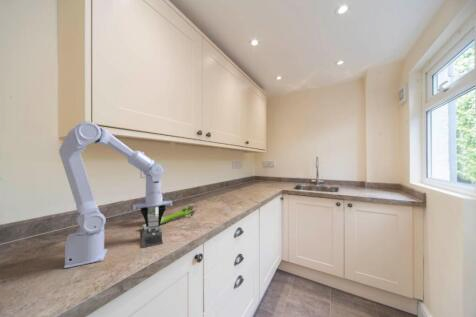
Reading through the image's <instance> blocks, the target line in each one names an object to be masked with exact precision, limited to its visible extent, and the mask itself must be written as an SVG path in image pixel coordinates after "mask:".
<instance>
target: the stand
mask: <svg viewBox="0 0 476 317" xmlns="http://www.w3.org/2000/svg"><path fill="white" fill-rule="evenodd" d="M158 229H159V231H158V232H156V231H151V233H148V229H145V230H144V229H142V230H141V232H142V233H141V240H142V241H141V243H142V244H141V246H142V247H141V249H144V248H149V247H153V246H154V247H155V246H160V245H163V244H164V241H163V231H162V227H161V226H159V227H158Z"/></svg>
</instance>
